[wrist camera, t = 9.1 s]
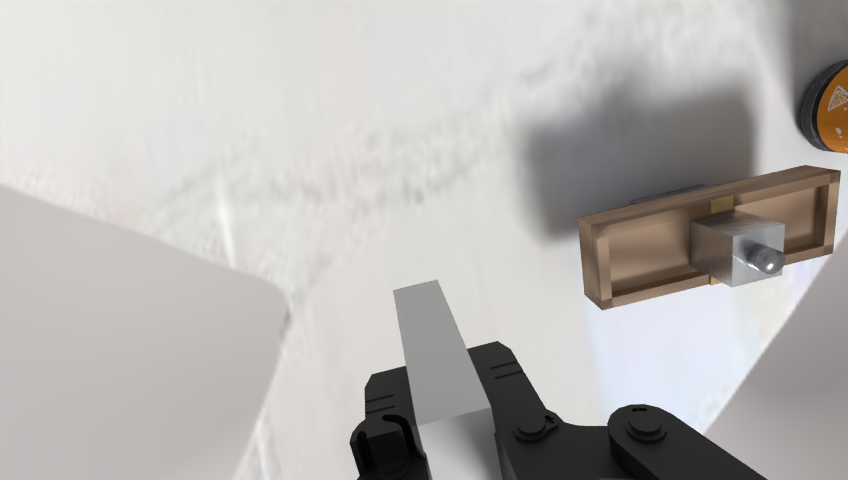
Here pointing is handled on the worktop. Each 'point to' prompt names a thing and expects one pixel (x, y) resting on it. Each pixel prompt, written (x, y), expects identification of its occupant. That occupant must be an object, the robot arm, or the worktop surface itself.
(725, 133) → the worktop surface
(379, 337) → the worktop surface
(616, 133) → the worktop surface
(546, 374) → the worktop surface
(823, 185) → the beam
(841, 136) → the canister
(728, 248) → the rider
